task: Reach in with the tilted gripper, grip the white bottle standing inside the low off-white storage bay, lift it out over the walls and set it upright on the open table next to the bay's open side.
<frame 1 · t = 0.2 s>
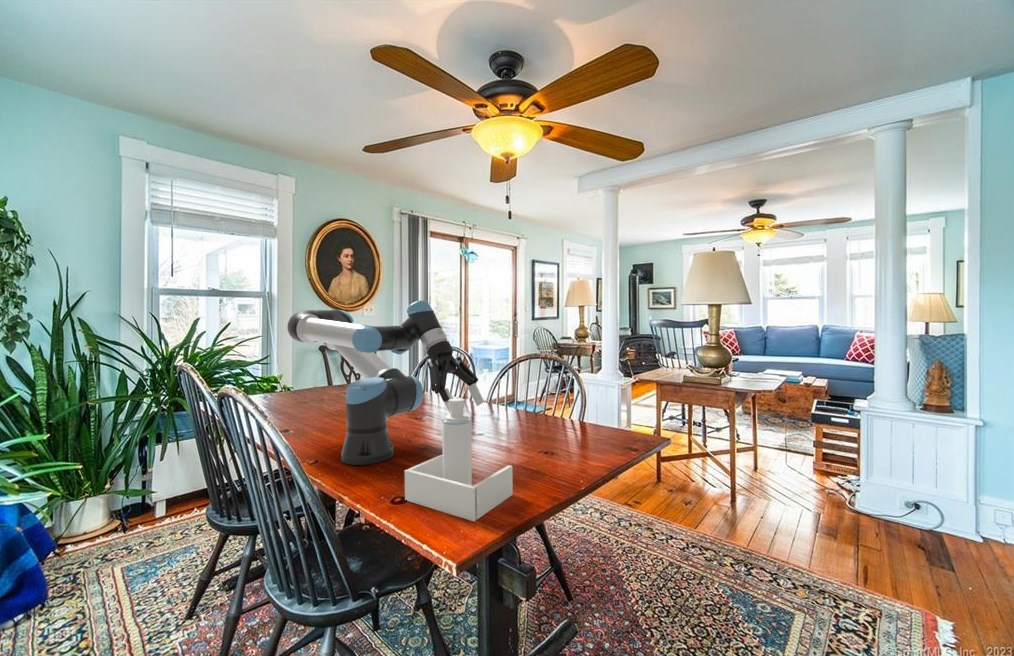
hand: (467, 407, 125), 16 cm above the table, tool tilted 35°, fingers open, 13 cm apart
white bottle: (457, 499, 100), on the table
storage bay: (460, 496, 101), on the table
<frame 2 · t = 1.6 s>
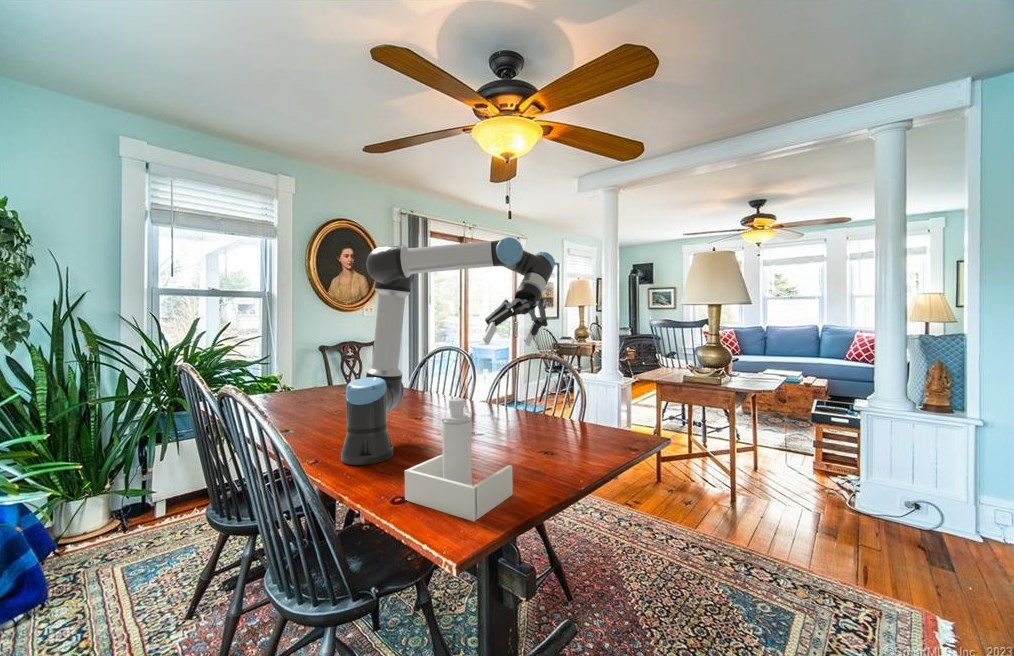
hand: (505, 342, 121), 35 cm above the table, tool tilted 45°, fingers open, 13 cm apart
nothing on the table moved.
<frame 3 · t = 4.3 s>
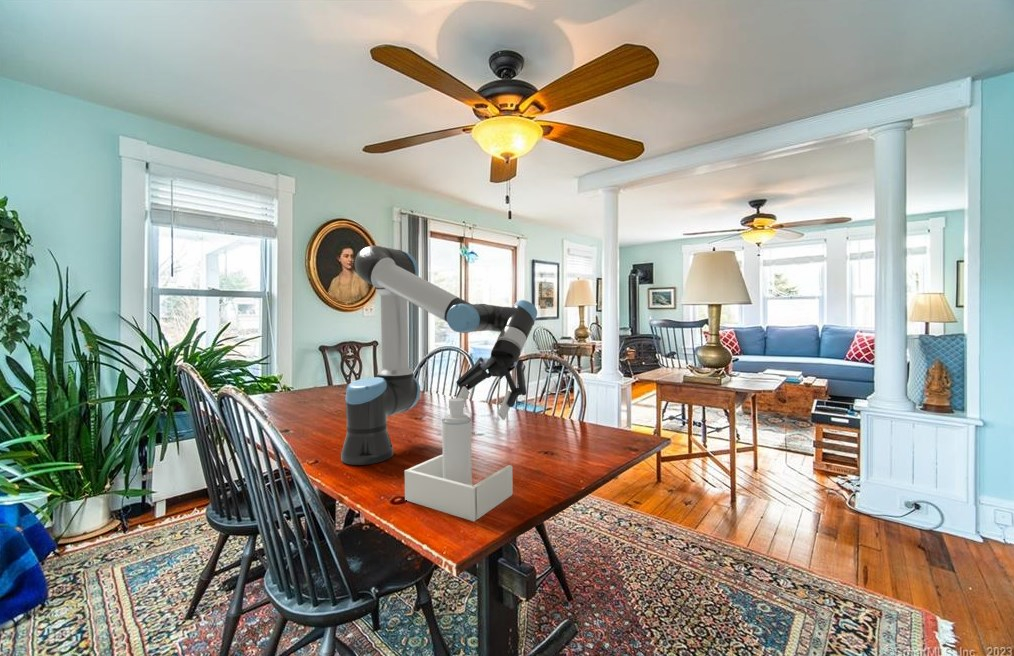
hand: (477, 413, 105), 19 cm above the table, tool tilted 45°, fingers open, 13 cm apart
nothing on the table moved.
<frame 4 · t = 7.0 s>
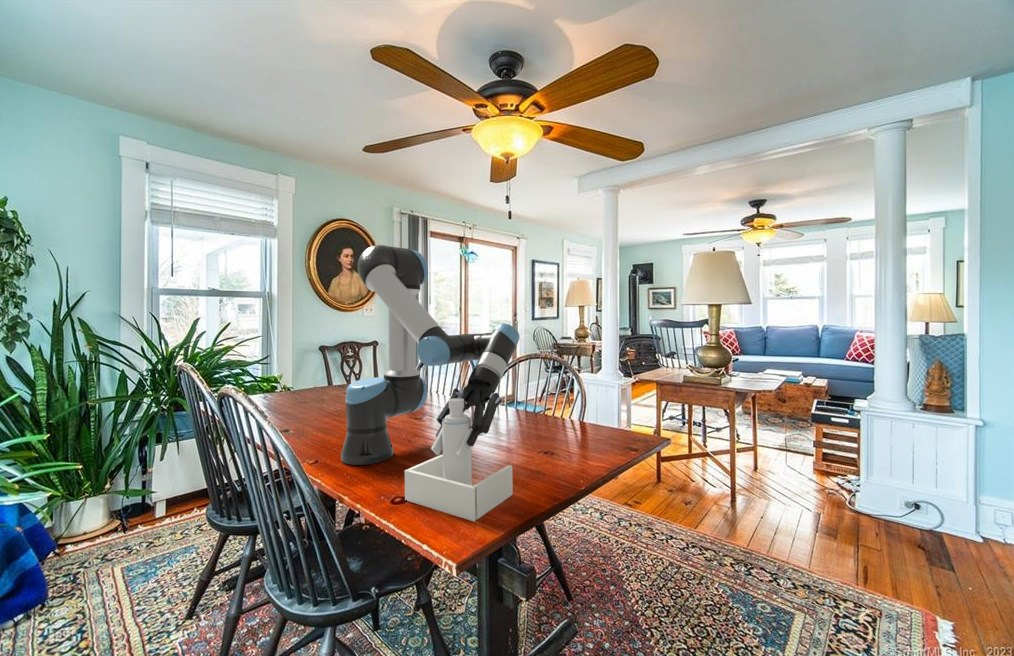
hand: (447, 454, 97), 11 cm above the table, tool tilted 45°, fingers closed on white bottle, 7 cm apart
white bottle: (457, 499, 100), on the table, touching gripper
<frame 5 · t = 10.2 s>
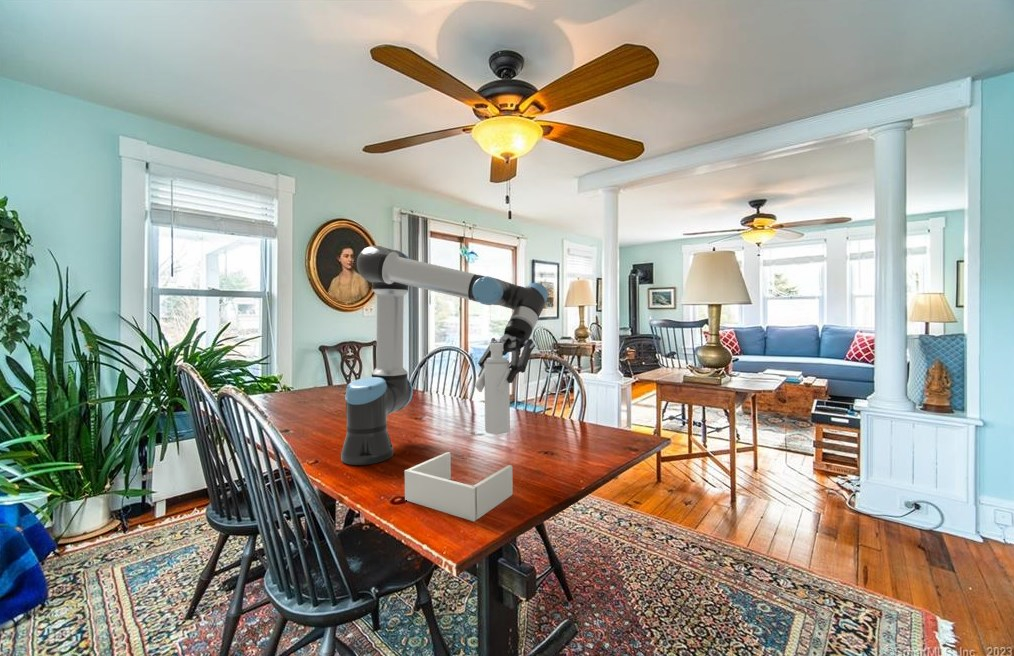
hand: (489, 390, 111), 23 cm above the table, tool tilted 45°, fingers closed on white bottle, 7 cm apart
white bottle: (497, 431, 115), point 12 cm above the table, touching gripper
when the fingers open (12 cm above the table, at t = 13.3 s): white bottle stays where it is, on the table.
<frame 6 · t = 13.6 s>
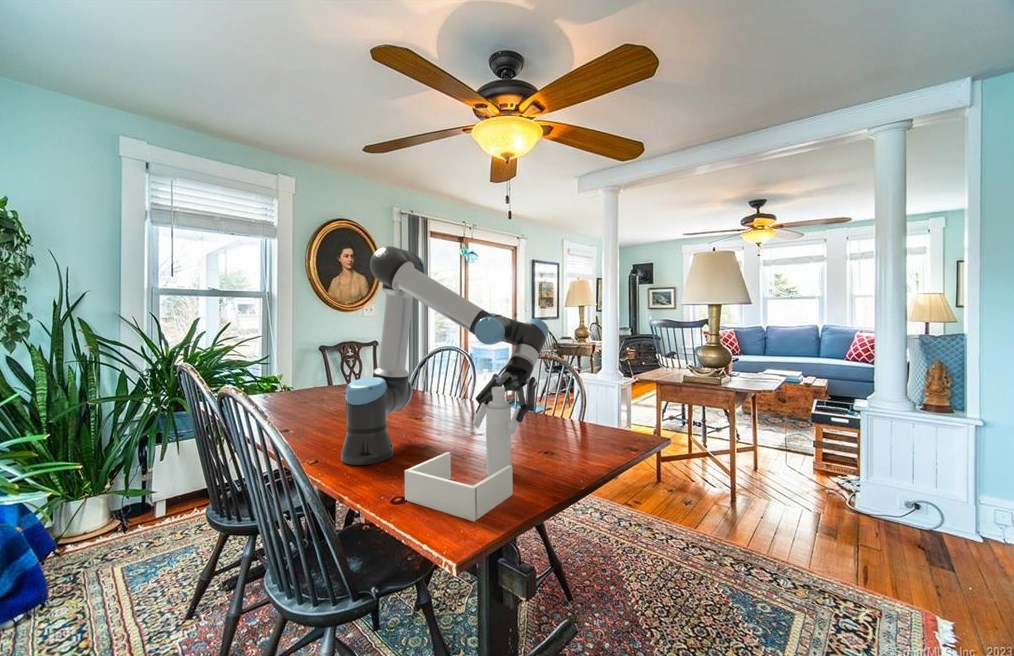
hand: (492, 428, 113), 13 cm above the table, tool tilted 45°, fingers open, 10 cm apart
white bottle: (498, 474, 116), on the table
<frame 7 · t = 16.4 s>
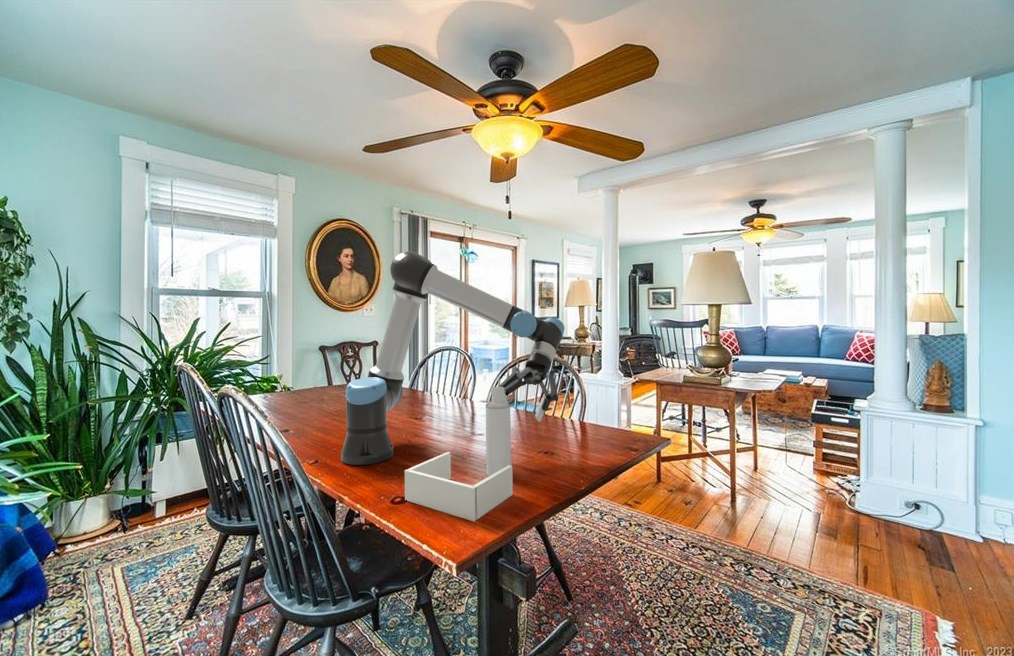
hand: (516, 416, 123), 14 cm above the table, tool tilted 45°, fingers open, 13 cm apart
nothing on the table moved.
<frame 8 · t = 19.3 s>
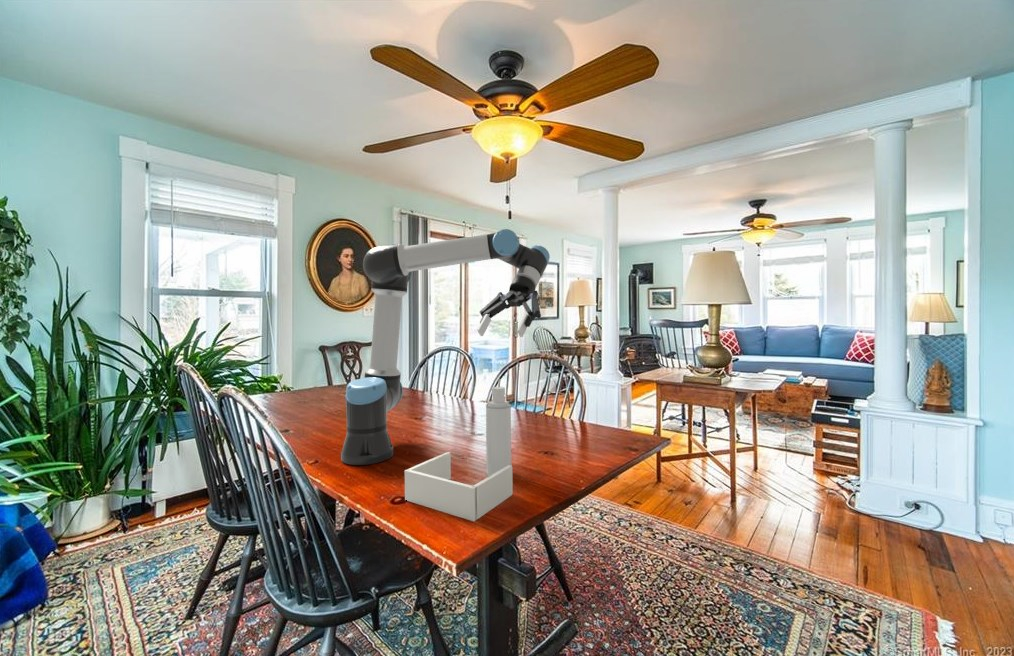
hand: (499, 333, 122), 38 cm above the table, tool tilted 45°, fingers open, 13 cm apart
nothing on the table moved.
at the end: white bottle inside the target area (0.4 cm from its centre), on the table; white bottle tilted 0°; the gripper is holding nothing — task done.
